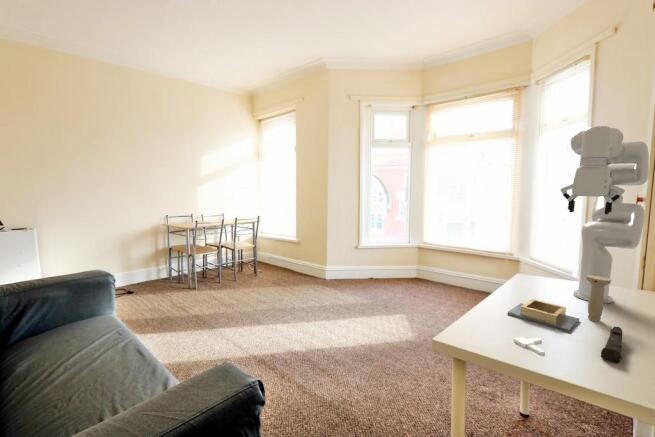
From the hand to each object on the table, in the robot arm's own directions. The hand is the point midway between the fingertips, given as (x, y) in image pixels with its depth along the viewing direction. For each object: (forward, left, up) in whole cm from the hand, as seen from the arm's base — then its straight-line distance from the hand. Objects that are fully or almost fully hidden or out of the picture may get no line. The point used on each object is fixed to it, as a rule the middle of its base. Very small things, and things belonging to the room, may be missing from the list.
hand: (588, 213), depth 111 cm
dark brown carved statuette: (+24, +12, -37) cm, 46 cm away
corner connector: (+39, -2, -38) cm, 54 cm away
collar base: (+15, -7, -37) cm, 40 cm away
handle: (+3, +5, -37) cm, 37 cm away
